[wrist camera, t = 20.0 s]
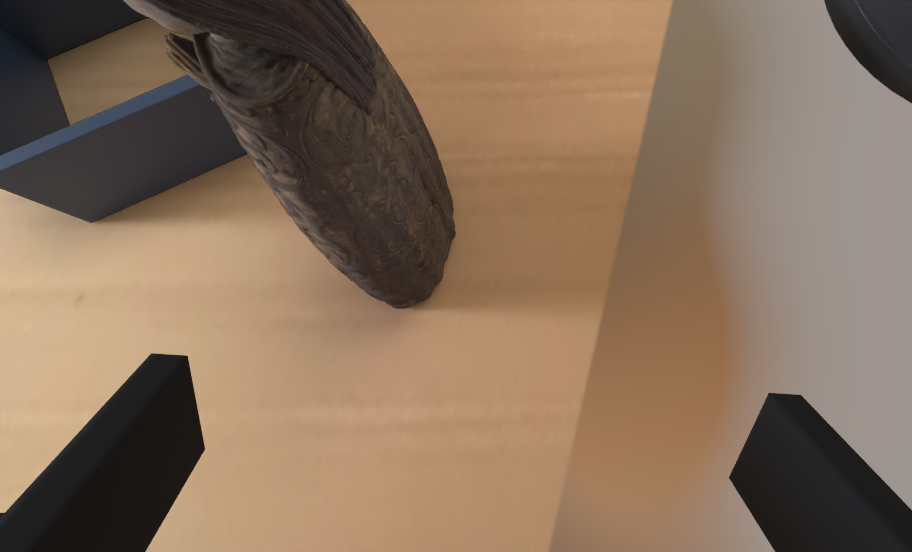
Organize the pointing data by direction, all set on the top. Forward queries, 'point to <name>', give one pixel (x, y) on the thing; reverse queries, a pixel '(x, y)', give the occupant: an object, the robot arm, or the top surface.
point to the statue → (324, 132)
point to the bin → (95, 119)
